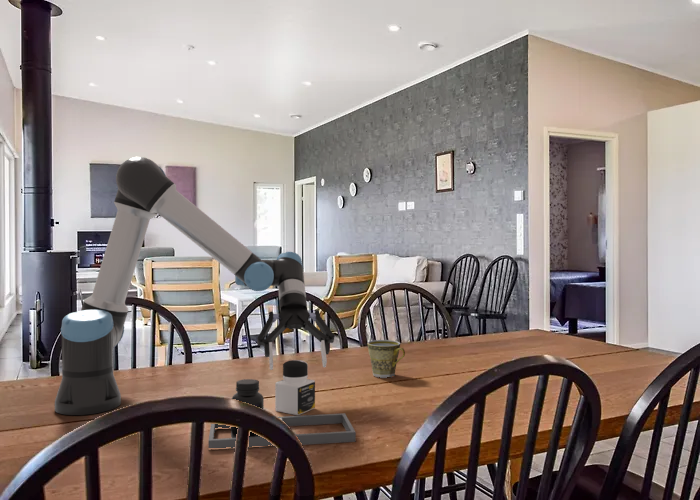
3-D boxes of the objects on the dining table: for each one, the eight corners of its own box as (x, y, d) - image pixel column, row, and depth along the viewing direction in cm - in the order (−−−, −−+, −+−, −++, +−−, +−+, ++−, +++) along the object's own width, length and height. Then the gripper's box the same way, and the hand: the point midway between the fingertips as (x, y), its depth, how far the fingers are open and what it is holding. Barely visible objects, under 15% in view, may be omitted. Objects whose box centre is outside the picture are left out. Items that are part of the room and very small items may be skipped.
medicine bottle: (298, 416, 142) (298, 366, 141) (274, 411, 146) (274, 362, 145) (315, 408, 148) (315, 360, 147) (292, 404, 152) (292, 357, 151)
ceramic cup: (360, 375, 182) (360, 342, 181) (381, 370, 189) (381, 338, 189) (393, 383, 173) (394, 348, 172) (414, 376, 180) (414, 344, 180)
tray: (208, 450, 119) (208, 440, 119) (211, 429, 132) (211, 420, 132) (355, 441, 125) (355, 432, 125) (344, 421, 138) (344, 413, 137)
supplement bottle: (256, 444, 123) (256, 386, 123) (225, 441, 124) (225, 384, 124) (268, 433, 130) (267, 378, 129) (238, 430, 131) (238, 376, 131)
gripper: (335, 306, 171) (344, 371, 157) (247, 308, 166) (248, 375, 152) (338, 290, 165) (348, 355, 151) (247, 292, 161) (248, 359, 147)
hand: (298, 365), depth 152 cm, fingers open, 13 cm apart
